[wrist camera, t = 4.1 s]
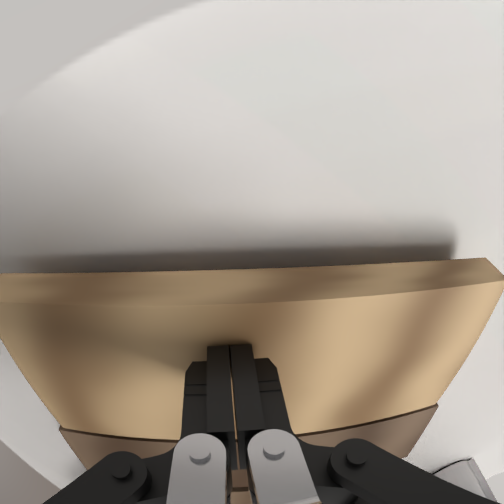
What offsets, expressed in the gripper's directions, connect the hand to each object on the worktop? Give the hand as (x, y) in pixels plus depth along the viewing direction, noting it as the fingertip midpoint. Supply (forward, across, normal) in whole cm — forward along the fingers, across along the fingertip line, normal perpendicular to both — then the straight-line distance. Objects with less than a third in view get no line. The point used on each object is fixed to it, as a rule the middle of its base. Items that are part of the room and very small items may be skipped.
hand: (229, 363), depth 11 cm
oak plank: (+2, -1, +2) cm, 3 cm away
